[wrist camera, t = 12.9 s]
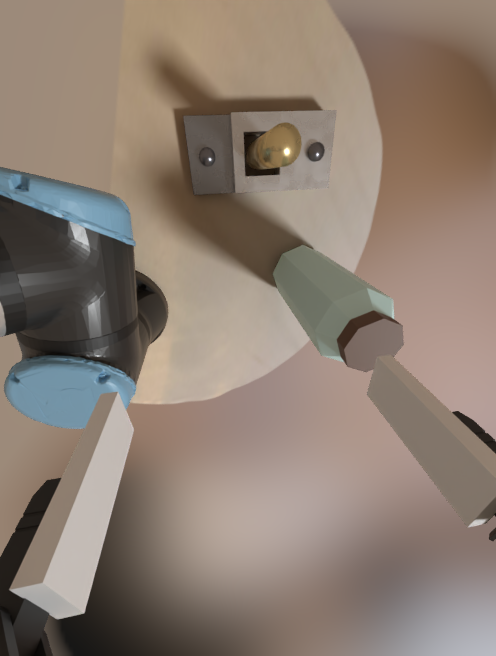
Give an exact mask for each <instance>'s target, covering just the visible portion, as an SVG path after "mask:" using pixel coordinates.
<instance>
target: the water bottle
mask: <svg viewBox="0 0 496 656" xmlns="http://www.w3.org/2000/svg"><path fill="white" fill-rule="evenodd" d="M273 276H274V279H275V282H276V285H277V288H278V291H279V293H280V294H281V296H282V297H283V299H284V300H285V302H286V303H287V305H288V306H289V308H290V309H291V311H292V312H293V314H294V315H295V317H296V318H297V320H298V321H299V323H300V324H301V326H302V327H303V329H304V330H305V332H306V333H307V335H308V336H309V338H310V339H311V341H312V342H313V344H314V345H315V347H316V348H317V350H318V351H319V352H320V354H321V355H322V356H325V357H328V358H331V359H335V360H338V361H342V362H345V363H346V365H347V366H348V367H350V368H353V369H357V370H361V371H364V372H368V371H370V370H372V369H374V366H375V363H376V359H377V357H378V356H385V355H391V356H393V357H394V356H395V355H396V353H397V352H398V351H399V350H400V349H401V347H402V346H403V326H402V325H401V324H399V323H398V322H397V321H395V320H394V306H393V299H392V298H390V297H389V296H387V295H386V294H384V293H382V292H381V291H379V290H378V289H376V288H375V287H373V286H372V285H370V284H369V283H367V282H365V281H364V280H362V279H361V278H359V277H358V276H356V275H354V274H353V273H351V272H350V271H348V270H347V269H345V268H344V267H342V266H340V265H339V264H337V263H336V262H334V261H333V260H331V259H329V258H328V257H326V256H325V255H323V254H322V253H320V252H318V251H315V250H313V249H311V248H309V247H307V246H305V245H301V246H299V247H297V248H294V249H292V250H290V251H287V252H285V253H283V254H282V255H281V257H280V260H279V262H278V264H277V266H276V268H275V270H274V272H273Z"/></svg>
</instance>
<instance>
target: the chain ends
mask: <svg viewBox="0 0 496 656" xmlns="http://www.w3.org/2000/svg"><path fill="white" fill-rule="evenodd" d="M183 118H184V125H185V133H186V140H187V147H188V155H189V162H190V170H191V177H192V185H193V192H194V195H200V194H218V193H247V192H265V191H283V190H301V189H319V188H328V185H329V175H330V166H331V157H332V147H333V138H334V129H335V119H336V110H320V111H271V112H231V113H230V115H197V116H183ZM284 122H287V123H290V124H292V125H294V126H295V127H296V128H297V129H298V131H299V133H300V136H301V142H302V145H301V151H300V154H299V156H298V158H297V159H296V160H295V161H294V162H293V163H292V164H291V165H289V166H285V167H277V168H275V175H264V176H245V157H244V135H262V134H265V133H266V132H267V131H269V130H270V129H272V128H273V127H275V126H276V125H278V124H280V123H284Z"/></svg>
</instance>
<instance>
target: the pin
mask: <svg viewBox="0 0 496 656" xmlns="http://www.w3.org/2000/svg"><path fill="white" fill-rule="evenodd" d="M301 145H302V142H301V136H300V133H299V131H298V129H297V128H296V127H295V126H294V125H292V124H290V123H287V122H284V123H280V124H278V125H276V126H275V127H273V128H272V129H270V130H269V131H267V132H266V133H265V134H263V135H262V136H260V137H259V138H257V139H256V140H255V141H253V142H252V143H251V144H250V145H249V146H248V148H247V150H246V160H247V163H248V165H249V166H250V167H251V168H253V169H255V170H262V169H270V168H277V167H285V166H289V165H291V164H292V163H293V162H294V161H295V160H296V159H297V158H298V156H299V154H300V151H301Z"/></svg>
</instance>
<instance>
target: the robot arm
mask: <svg viewBox="0 0 496 656" xmlns="http://www.w3.org/2000/svg"><path fill="white" fill-rule="evenodd" d="M134 246H136V243H135V241H134V240H133V233H132V225H131V216H130V212H129V209H128V207H127V205H126V204H125V203H124V202H123V201H122V200H121V199H120V198H119V197H117V196H115V195H113V194H110V193H106V192H103V191H99V190H95V189H92V188H88V187H84V186H80V185H75V184H71V183H67V182H63V181H59V180H54V179H50V178H46V177H42V176H37V175H33V174H29V173H25V172H20V171H15V170H11V169H7V168H2V167H0V337H3V336H6V335H9V334H13V333H16V336H17V339H18V342H19V345H20V348H21V351H22V360H21V361H20V362H19V363H16V364H15V365H14V366H13V367H12V368H11V370H10V371H9V375H8V377H7V378H6V380H5V384H4V392H5V395H6V397H7V399H8V400H9V402H10V403H11V405H12V406H13V407H15V408H16V409H17V410H18V411H19V412H21V413H22V414H24V415H25V416H27V417H29V418H31V419H33V420H35V421H39V422H42V423H45V424H47V425H51V426H55V427H61V428H71V429H72V428H73V429H80V428H85V429H84V431H83V434H82V436H81V438H80V440H79V442H78V444H77V446H76V449H75V451H74V453H73V455H72V457H71V459H70V461H69V463H68V465H67V468H66V470H65V472H64V474H63V476H62V478H58V479H52V480H47V481H46V482H45V483H44V484H43V485H42V486H41V487H40V489H39V490H38V491H37V492H36V493H35V494H34V495H33V497H32V499H31V501H30V502H29V504H28V506H27V508H26V510H25V512H24V514H23V515H24V516H23V518H21V519H20V521H19V523H18V525H17V527H16V529H15V530H16V531H15V533H13V534H12V536H11V538H10V540H9V542H8V544H7V546H6V548H5V549H4V551H3V553H2V555H1V557H0V656H53V654H52V651H51V648H50V645H49V641H48V637H47V634H46V632H45V631H44V627H45V624H46V621H47V618H48V616H49V615H51V616H53V617H54V618H56V619H61V618H65V617H70V616H74V615H79V614H83V613H84V612H85V608H86V604H87V601H88V597H89V594H90V590H91V586H92V582H93V579H94V575H95V571H96V568H97V564H98V560H99V557H100V553H101V549H102V546H103V542H104V538H105V535H106V531H107V527H108V523H109V520H110V516H111V513H112V509H113V505H114V501H115V498H116V494H117V490H118V486H119V483H120V479H121V475H122V472H123V468H124V464H125V461H126V457H127V454H128V450H129V446H130V443H131V439H132V435H133V431H134V428H133V426H132V423H131V421H130V419H129V416H128V414H127V412H126V409H127V407H128V405H129V403H130V400H131V398H132V397H133V395H134V394H135V391H136V384H137V381H138V378H139V374H140V371H141V368H142V365H143V362H144V358H145V355H146V352H147V349H148V346H149V345H150V344H151V343H153V342H154V341H155V340H156V339H157V338H158V337H159V336H160V335H161V333H162V332H163V330H164V328H165V326H166V322H167V318H168V304H167V301H166V298H165V296H164V294H163V292H162V291H161V289H160V288H159V287H158V286H157V285H156V284H155V283H154V282H153V281H152V280H151V279H149V278H148V277H147V276H145V275H143V274H141V273H139V272H137V271H135V261H134ZM367 395H368V396H369V398H370V399H371V400H372V402H373V403H374V404H375V406H376V407H377V408H378V410H379V411H380V412H381V414H382V415H383V416H384V417H385V419H386V420H387V421H388V423H389V424H390V425H391V427H392V428H393V429H394V431H395V432H396V433H397V435H398V436H399V437H400V439H401V440H402V441H403V443H404V444H405V445H406V447H407V448H408V449H409V450H410V452H411V453H412V454H413V456H414V457H415V458H416V460H417V461H418V462H419V464H420V465H421V466H422V468H423V469H424V470H425V472H426V473H427V474H428V476H429V477H430V478H431V480H432V481H433V482H434V484H435V485H436V486H437V488H438V489H439V490H440V492H441V493H442V494H443V495H444V497H445V498H446V499H447V501H448V502H449V503H450V505H451V506H452V507H453V509H454V510H455V511H456V513H457V514H458V515H459V517H460V518H461V519H462V521H463V522H464V523H465V525H466V526H467V527H472V526H476V525H481V524H485V523H487V522H488V521H489V520H490V519H491V518H492V517H493V516H494V515H495V516H496V442H495V439H493V438H492V437H491V436H490V435H489V434H488V433H485V431H484V430H483V429H482V428H481V427H480V426H479V425H478V424H477V423H476V422H474V421H473V420H472V419H470V418H469V417H467V416H465V415H464V414H462V413H460V412H459V411H455V412H451V411H449V409H448V408H447V407H446V406H444V405H443V404H442V403H441V402H440V401H439V400H438V399H437V398H436V397H435V396H434V395H433V394H432V393H431V392H430V391H429V390H428V389H426V388H425V387H424V386H423V385H422V384H421V383H420V382H419V381H418V380H417V379H416V378H415V377H414V376H412V374H411V373H409V372H408V371H407V370H406V369H405V368H404V367H403V366H402V365H401V364H400V363H399V362H398V361H396V359H395V358H394V357H393V356H391V355H385V356H378V357H377V359H376V363H375V366H374V370H373V374H372V377H371V381H370V384H369V388H368V392H367ZM495 539H496V528H495V529H494V530H493V531H492V532H491V533H490V534H489V540H491V541H494V540H495Z"/></svg>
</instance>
